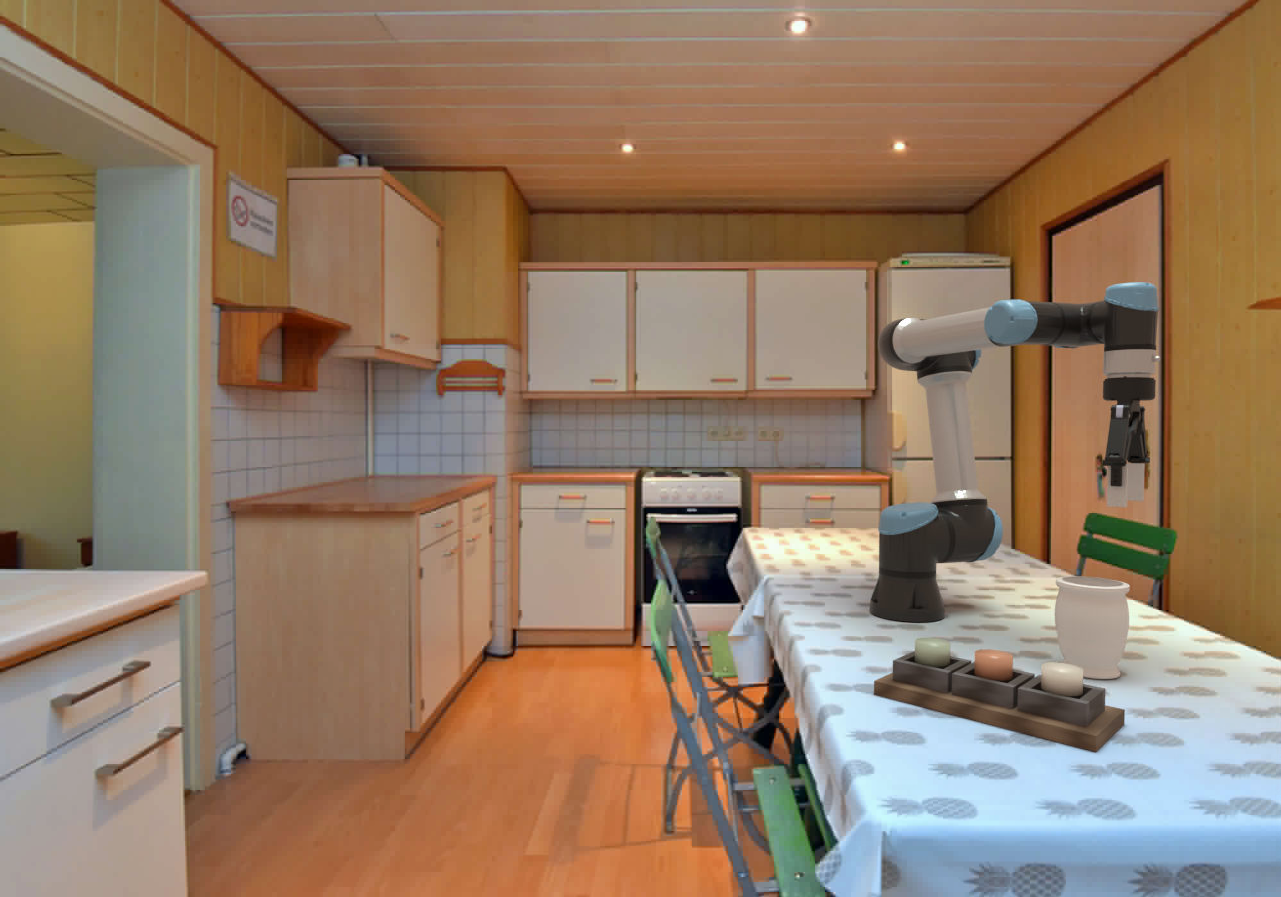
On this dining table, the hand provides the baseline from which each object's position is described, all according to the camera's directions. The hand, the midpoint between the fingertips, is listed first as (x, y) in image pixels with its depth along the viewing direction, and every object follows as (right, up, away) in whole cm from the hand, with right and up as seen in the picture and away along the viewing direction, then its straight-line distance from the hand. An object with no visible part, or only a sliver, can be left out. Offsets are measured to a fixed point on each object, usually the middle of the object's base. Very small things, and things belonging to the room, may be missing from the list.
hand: (1125, 503), depth 135 cm
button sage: (-38, -23, -14) cm, 46 cm away
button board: (-31, -28, -20) cm, 47 cm away
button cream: (-25, -23, -27) cm, 43 cm away
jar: (-8, -28, -4) cm, 29 cm away
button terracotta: (-31, -23, -21) cm, 44 cm away
